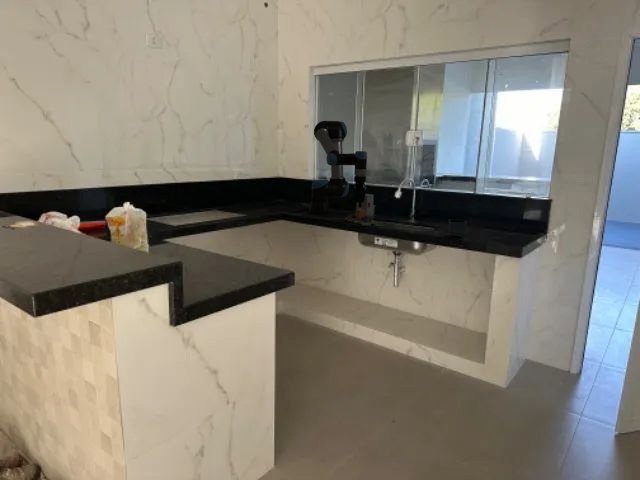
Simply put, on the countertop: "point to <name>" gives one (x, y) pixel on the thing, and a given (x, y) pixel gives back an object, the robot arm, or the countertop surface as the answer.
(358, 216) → the sleeve
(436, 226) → the countertop surface
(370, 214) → the supplement box
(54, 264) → the countertop surface
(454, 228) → the flower pot
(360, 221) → the cord board
